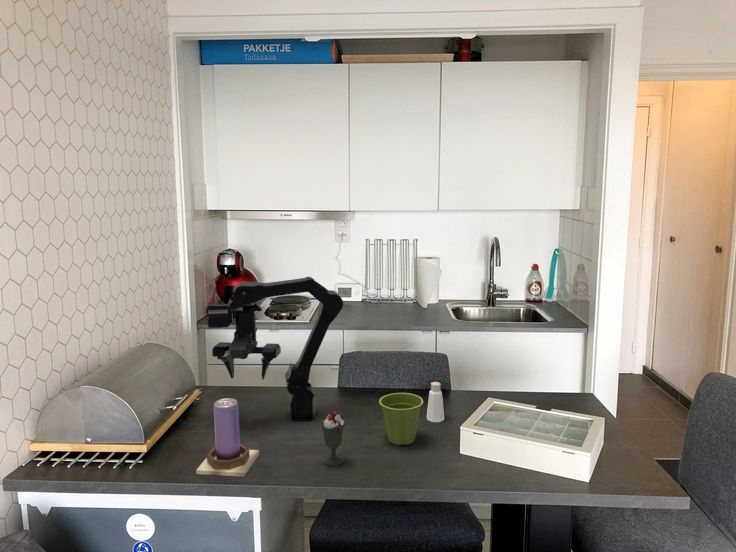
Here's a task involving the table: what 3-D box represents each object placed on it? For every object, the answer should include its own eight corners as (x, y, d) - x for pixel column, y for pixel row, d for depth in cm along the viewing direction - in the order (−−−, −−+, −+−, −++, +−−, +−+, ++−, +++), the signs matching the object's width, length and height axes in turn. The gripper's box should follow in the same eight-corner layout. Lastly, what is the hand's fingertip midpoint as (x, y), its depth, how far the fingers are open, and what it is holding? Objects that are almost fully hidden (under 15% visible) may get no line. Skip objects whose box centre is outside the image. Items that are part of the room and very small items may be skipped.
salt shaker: (423, 421, 176) (424, 385, 174) (429, 414, 181) (429, 379, 179) (441, 423, 174) (442, 387, 172) (446, 416, 179) (447, 381, 177)
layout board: (259, 453, 157) (258, 442, 156) (244, 476, 145) (243, 465, 144) (214, 451, 158) (214, 440, 158) (196, 474, 146) (195, 462, 146)
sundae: (327, 470, 148) (325, 412, 145) (316, 458, 154) (315, 402, 151) (351, 463, 151) (350, 406, 148) (340, 453, 157) (339, 398, 154)
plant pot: (387, 428, 171) (386, 390, 169) (427, 433, 167) (428, 395, 165) (373, 446, 160) (373, 405, 158) (416, 452, 156) (416, 411, 154)
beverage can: (239, 464, 149) (236, 406, 146) (214, 465, 148) (211, 407, 146) (242, 453, 155) (239, 397, 152) (218, 454, 154) (215, 398, 152)
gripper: (203, 333, 166) (206, 387, 168) (269, 334, 163) (271, 389, 166) (218, 323, 176) (220, 374, 179) (280, 324, 174) (282, 376, 177)
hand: (247, 378), depth 175 cm, fingers open, 9 cm apart
